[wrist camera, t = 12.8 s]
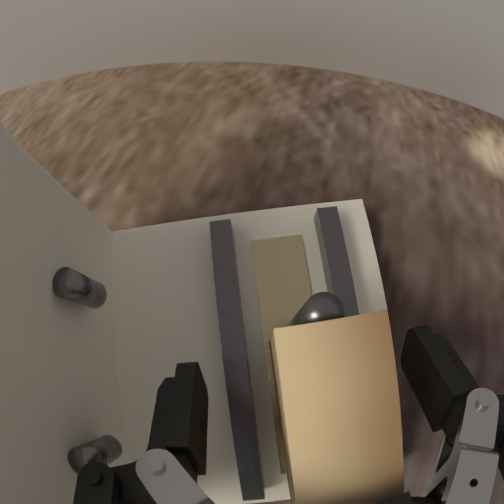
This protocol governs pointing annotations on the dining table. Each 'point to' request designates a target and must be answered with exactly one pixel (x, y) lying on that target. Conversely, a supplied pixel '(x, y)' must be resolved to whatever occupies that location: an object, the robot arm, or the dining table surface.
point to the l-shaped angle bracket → (154, 329)
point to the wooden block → (338, 405)
